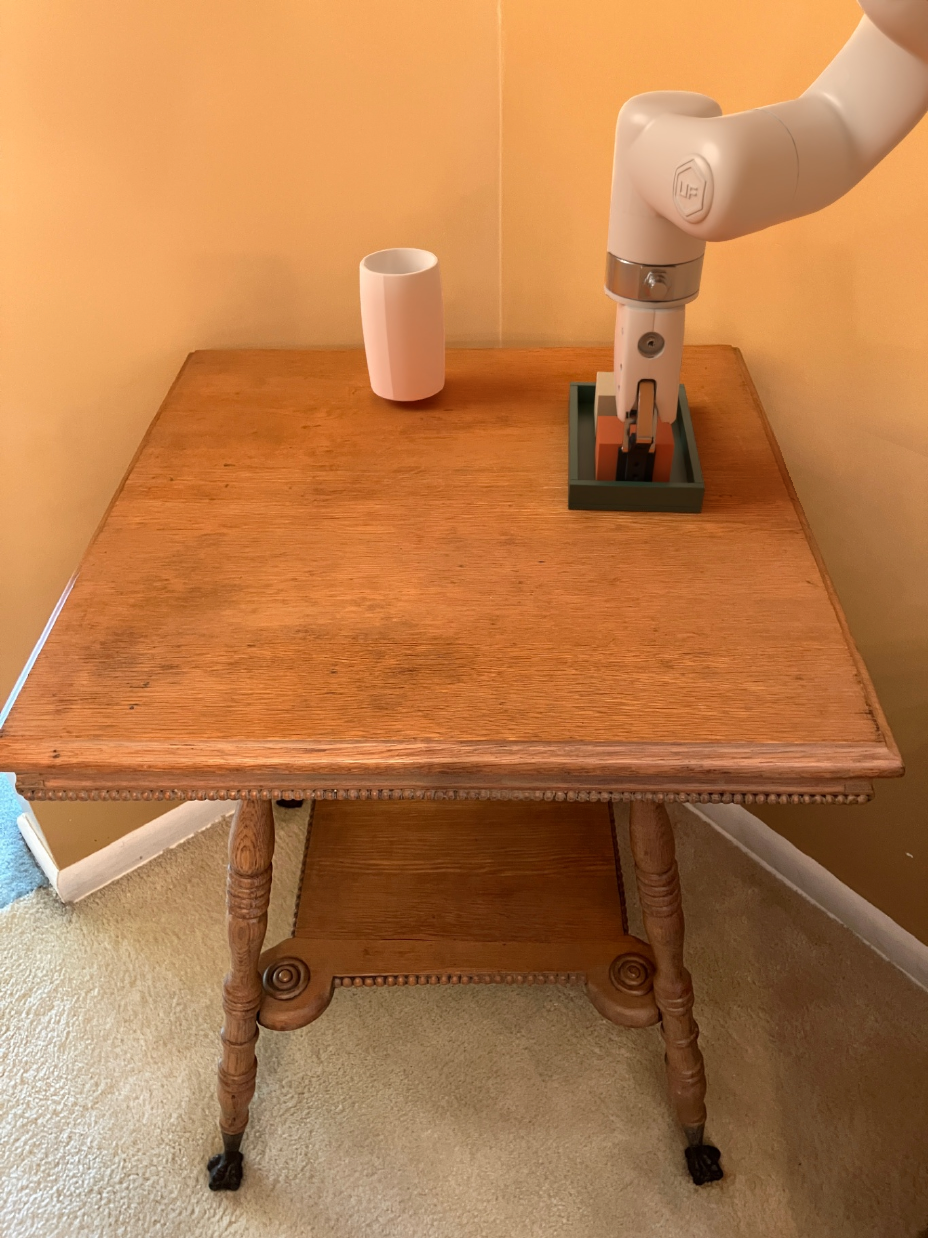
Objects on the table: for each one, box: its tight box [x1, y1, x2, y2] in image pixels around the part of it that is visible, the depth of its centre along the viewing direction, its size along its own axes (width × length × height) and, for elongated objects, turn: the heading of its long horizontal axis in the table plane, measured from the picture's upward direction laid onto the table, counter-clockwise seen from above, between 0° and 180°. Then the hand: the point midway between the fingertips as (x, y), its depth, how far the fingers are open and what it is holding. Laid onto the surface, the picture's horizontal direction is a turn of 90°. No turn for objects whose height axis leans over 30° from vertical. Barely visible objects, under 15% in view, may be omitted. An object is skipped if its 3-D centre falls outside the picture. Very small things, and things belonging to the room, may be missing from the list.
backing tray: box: [567, 381, 706, 514], centre depth 87 cm, size 20×12×3 cm, turn 175°
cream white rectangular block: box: [594, 371, 660, 437], centre depth 90 cm, size 5×6×4 cm
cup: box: [359, 247, 446, 402], centre depth 94 cm, size 8×8×14 cm
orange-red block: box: [595, 416, 674, 482], centre depth 83 cm, size 5×6×4 cm
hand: (631, 469), depth 84 cm, fingers closed on orange-red block, 4 cm apart
